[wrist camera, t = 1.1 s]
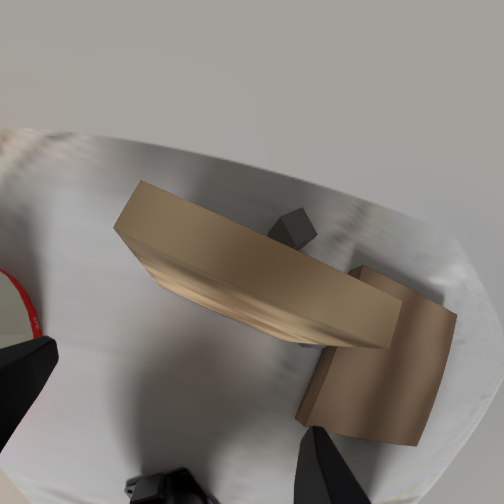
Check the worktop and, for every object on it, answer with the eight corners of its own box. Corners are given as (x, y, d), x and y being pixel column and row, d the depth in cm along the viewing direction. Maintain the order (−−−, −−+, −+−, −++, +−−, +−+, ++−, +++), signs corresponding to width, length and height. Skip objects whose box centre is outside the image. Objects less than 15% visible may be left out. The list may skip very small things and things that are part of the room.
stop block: (300, 248, 26) (317, 234, 22) (281, 258, 25) (296, 245, 22) (287, 224, 26) (302, 207, 23) (268, 233, 26) (280, 216, 22)
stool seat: (441, 317, 27) (457, 314, 25) (402, 440, 23) (416, 446, 21) (349, 270, 26) (363, 265, 24) (294, 418, 22) (304, 426, 20)
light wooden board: (319, 328, 24) (439, 319, 11) (311, 350, 24) (428, 363, 10) (170, 263, 23) (140, 180, 10) (159, 285, 23) (113, 227, 9)
